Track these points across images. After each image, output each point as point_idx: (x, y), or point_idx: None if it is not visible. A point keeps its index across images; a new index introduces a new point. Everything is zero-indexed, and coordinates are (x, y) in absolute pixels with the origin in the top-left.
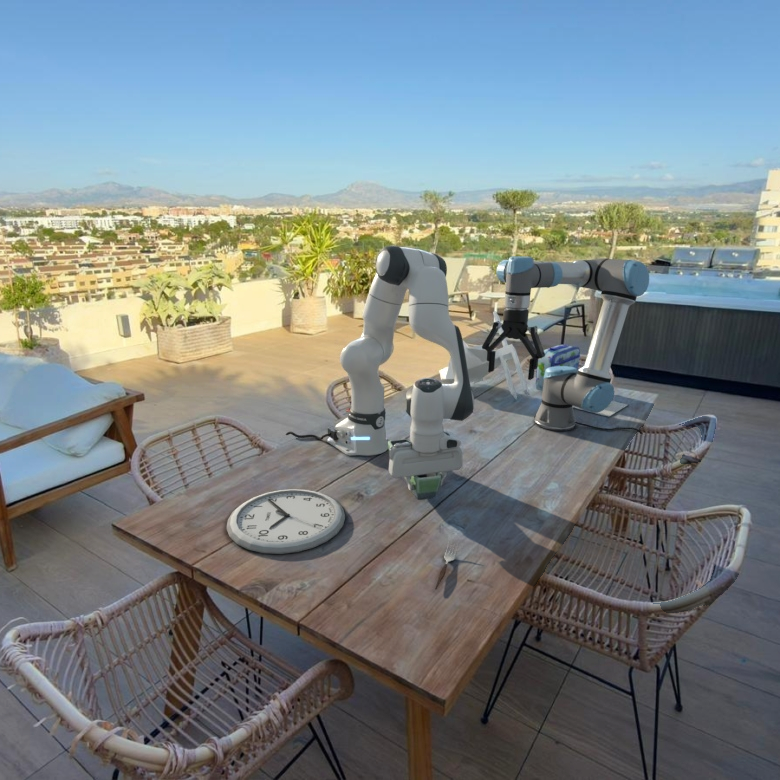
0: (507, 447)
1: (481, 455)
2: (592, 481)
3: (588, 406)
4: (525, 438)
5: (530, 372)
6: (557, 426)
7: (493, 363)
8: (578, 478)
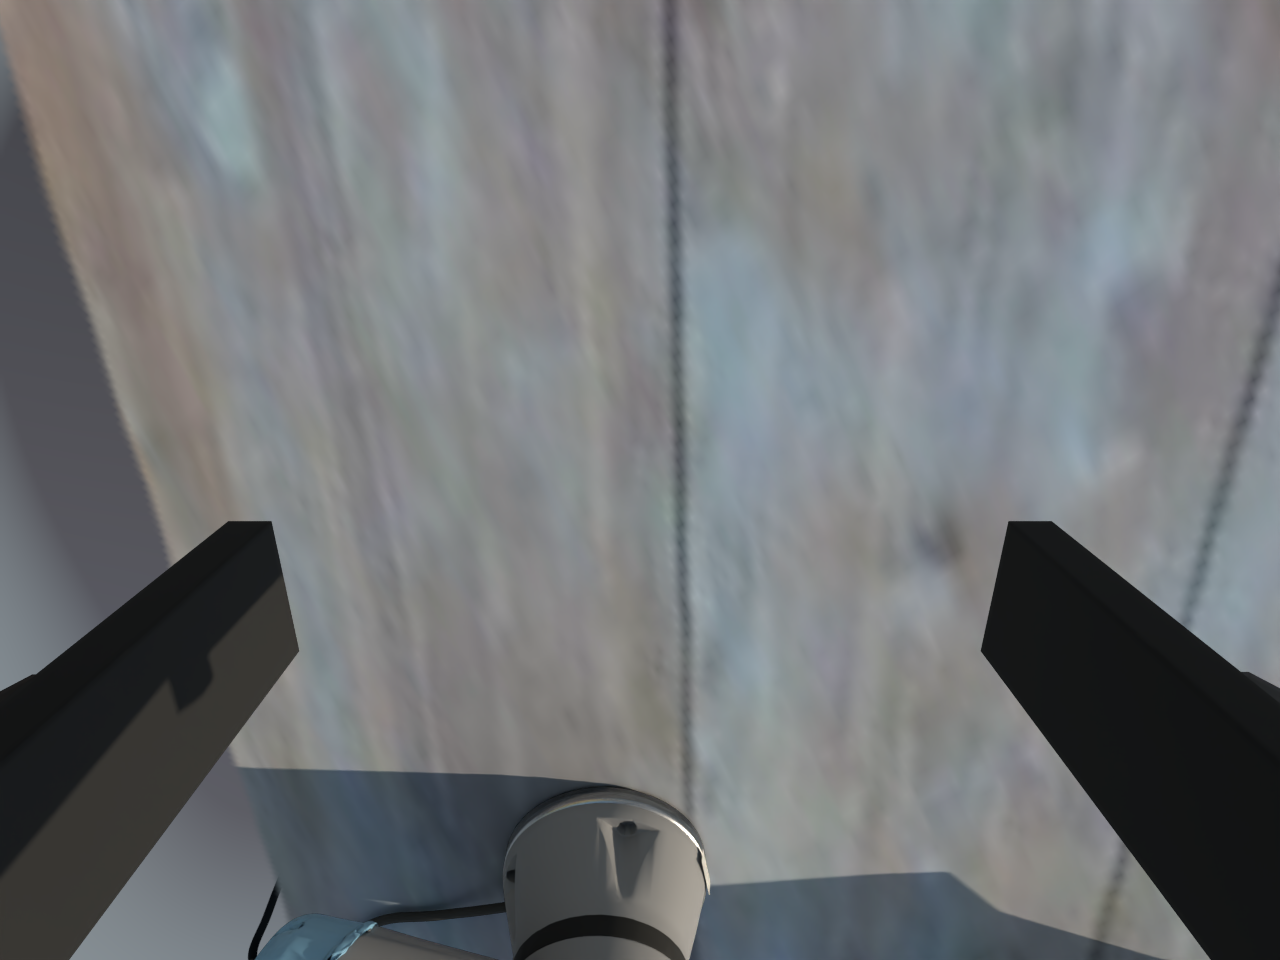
0: (676, 460)
1: (755, 252)
2: (114, 332)
3: (305, 927)
4: (647, 628)
5: (151, 592)
6: (554, 815)
7: (1066, 708)
8: (184, 319)
